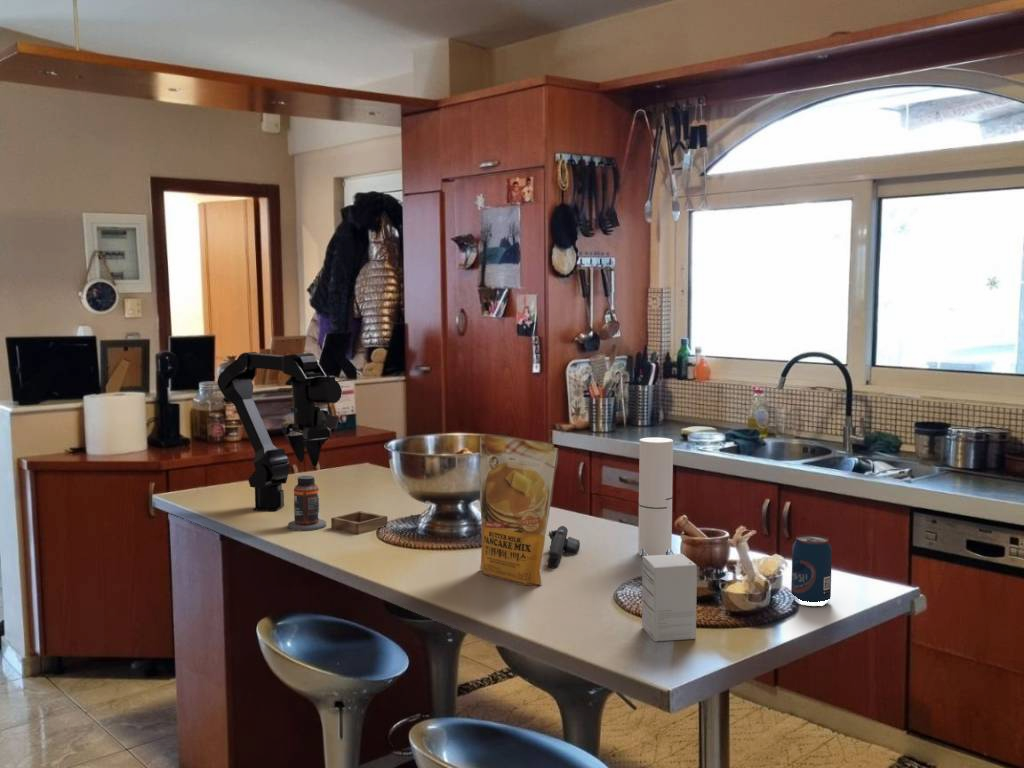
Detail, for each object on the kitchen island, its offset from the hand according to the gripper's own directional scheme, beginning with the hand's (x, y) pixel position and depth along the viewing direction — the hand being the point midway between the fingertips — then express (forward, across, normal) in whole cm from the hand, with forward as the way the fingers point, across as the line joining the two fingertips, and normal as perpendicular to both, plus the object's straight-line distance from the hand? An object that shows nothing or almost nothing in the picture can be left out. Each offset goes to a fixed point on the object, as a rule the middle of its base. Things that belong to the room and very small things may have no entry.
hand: (308, 464), depth 250 cm
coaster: (+14, -10, +5) cm, 18 cm away
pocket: (+14, -19, -5) cm, 24 cm away
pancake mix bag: (+17, -73, -14) cm, 76 cm away
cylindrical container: (+18, -76, -49) cm, 92 cm away
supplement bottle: (+13, -10, +5) cm, 17 cm away
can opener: (+17, -67, -30) cm, 75 cm away
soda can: (+20, -117, -50) cm, 129 cm away
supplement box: (+19, -115, -18) cm, 117 cm away
